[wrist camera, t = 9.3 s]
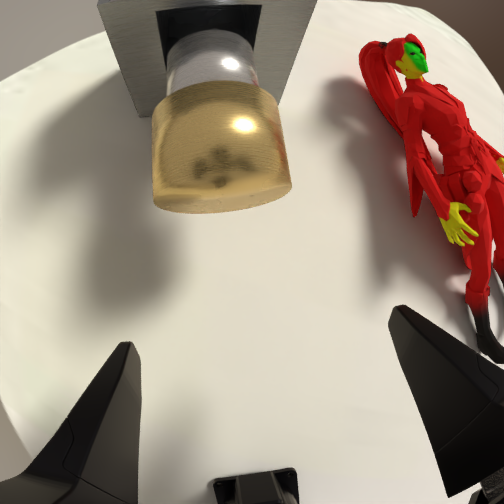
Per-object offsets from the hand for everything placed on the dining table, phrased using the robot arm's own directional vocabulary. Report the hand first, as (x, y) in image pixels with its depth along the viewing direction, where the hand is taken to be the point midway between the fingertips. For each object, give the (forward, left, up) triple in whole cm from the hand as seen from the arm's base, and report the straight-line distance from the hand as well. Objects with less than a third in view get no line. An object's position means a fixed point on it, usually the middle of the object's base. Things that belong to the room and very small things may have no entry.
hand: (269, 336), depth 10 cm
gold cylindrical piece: (+10, +1, -6) cm, 11 cm away
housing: (+19, +1, -11) cm, 22 cm away
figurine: (+6, -19, -12) cm, 23 cm away
